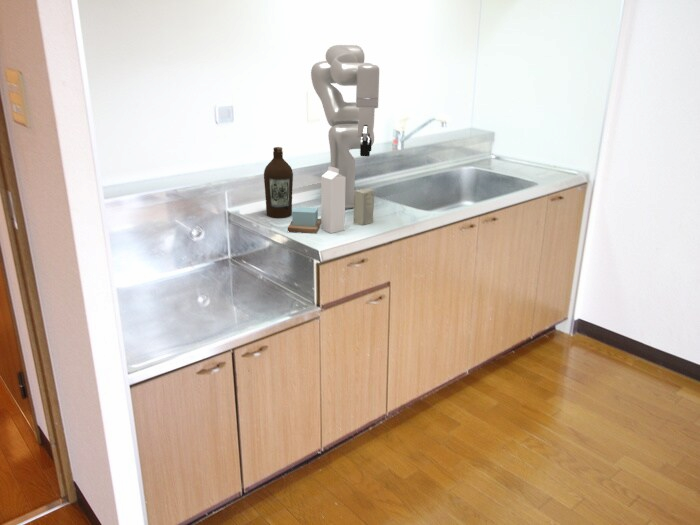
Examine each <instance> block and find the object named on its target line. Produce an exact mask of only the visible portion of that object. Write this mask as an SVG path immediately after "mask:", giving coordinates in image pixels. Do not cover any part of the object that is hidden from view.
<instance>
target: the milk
mask: <svg viewBox="0 0 700 525" xmlns="http://www.w3.org/2000/svg"><path fill="white" fill-rule="evenodd" d="M320 183H321V184H320V185H321V186H320V188H321V190H320V192H321V194H320V201H321V202H320V204H321V205H320V209H321V210H320V213H321V214H320V219H321V225H320V230H322V231H324V232H327V233H329V234H334V233H339V232H343V231H345V227H346V226H345V224H346V223H345V222H346V221H345V220H346V209H345V184H346V177H344V176H342V175H341V174H339V169H337V168H334V167H331V165H330V166H329V165H328V170H327V171H326V172H324V173H323V174H322V175H321V182H320Z"/></svg>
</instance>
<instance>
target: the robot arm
mask: <svg viewBox="0 0 700 525" xmlns="http://www.w3.org/2000/svg"><path fill="white" fill-rule="evenodd" d="M310 78H311V83H312V87H313V88H314V91H315V94H316V95H317V96H318V98H319V100H320V101H321V104H322V108H323V111H324V115H325V118H326V121H327V123H328V125H329V126H330V128H329V130H328V142H329V143H328V144H329V151H330V166H331V167H334V168H337V169H339V174H341V175H342V176H344V177H346V184H345V210H347V209H354V191H355V190H356V189H355V187H356V186H355V183H356V181H355V180H356V179H355V178H356V160H355V158H354V155H352V154H351V152H350V151H351V150H359V156H360V157H370V154H371V152H372V146H373V144H374V142H375V133H374V127H375V111H376V110H375V109H378V108H379V95H380V94H379V90H380V89H379V88H380V67H379V66H378V65H376V64H373V63H371V62H365V52H364V50H363V49H362V47H361V46H360V45H357V44H356V45H355V44H351V45H350V44H337V45H335V44H334V45H332V46H330V47H328V49H327V50H326V52H325V60H323V61H318V62H316V63H314V64H313V65H312V67H311V69H310ZM333 84H337V85H339V86H341V87H342V86H345V87H351V86H353V87H356V88H355V89H356V92H355V94H356V95H355V102H348V101H347V102H346V101H345V100H344V97H343V94H342V93H341V91H340V90H339V89H337V87H335V86H334V85H333Z"/></svg>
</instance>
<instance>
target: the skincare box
mask: <svg viewBox="0 0 700 525" xmlns="http://www.w3.org/2000/svg"><path fill="white" fill-rule="evenodd" d="M374 207H375V189H373V188H372V189H371V188H368V187H363V188H360V189H355V190H354V208H353V223H354V224H357V225H360V226H365V225H368V224H371V223H373V222H374Z"/></svg>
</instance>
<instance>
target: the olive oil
mask: <svg viewBox="0 0 700 525" xmlns="http://www.w3.org/2000/svg"><path fill="white" fill-rule="evenodd" d="M283 153H284V151H283V147H281V146H275V147H273V154H272V155H273V158H272V159H271V160H270V161H269V163H268V164H267V165H266V166H265V168H264V171H263V181H264V182H263V184H264V193H265V209H266V212H265V213H266V216H267V217H269V218H275V219H282V218H284V219H285V218H289V217H292V211H293V188H294V187H293V184H294V183H293V182H294V172H293V169H292V167H291V165H289V164H288V162H287V161H286V160H285V159H284V157H283V156H284V154H283Z"/></svg>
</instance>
